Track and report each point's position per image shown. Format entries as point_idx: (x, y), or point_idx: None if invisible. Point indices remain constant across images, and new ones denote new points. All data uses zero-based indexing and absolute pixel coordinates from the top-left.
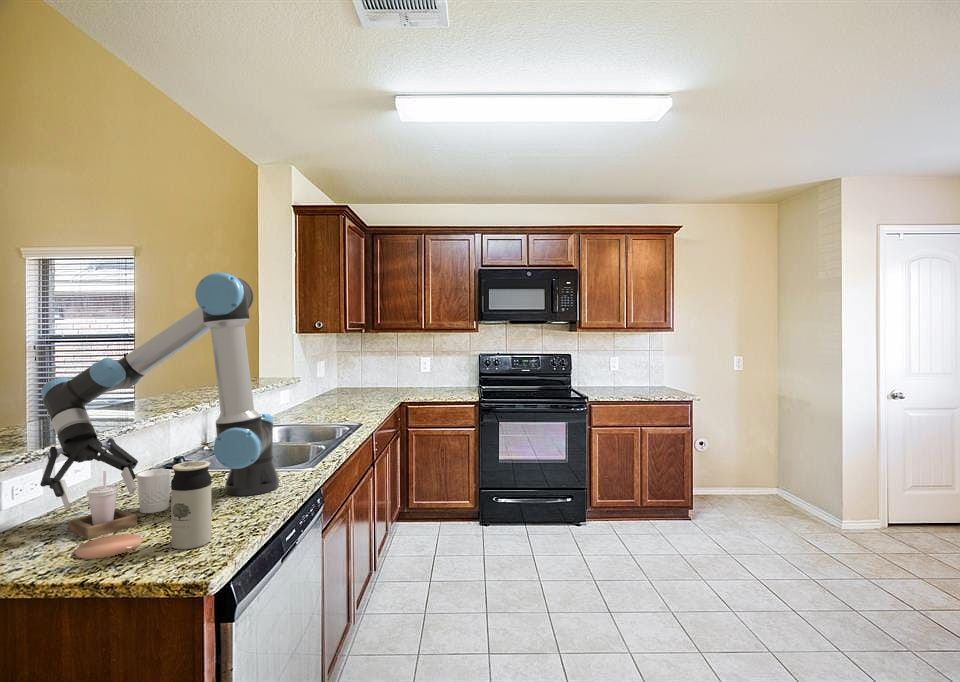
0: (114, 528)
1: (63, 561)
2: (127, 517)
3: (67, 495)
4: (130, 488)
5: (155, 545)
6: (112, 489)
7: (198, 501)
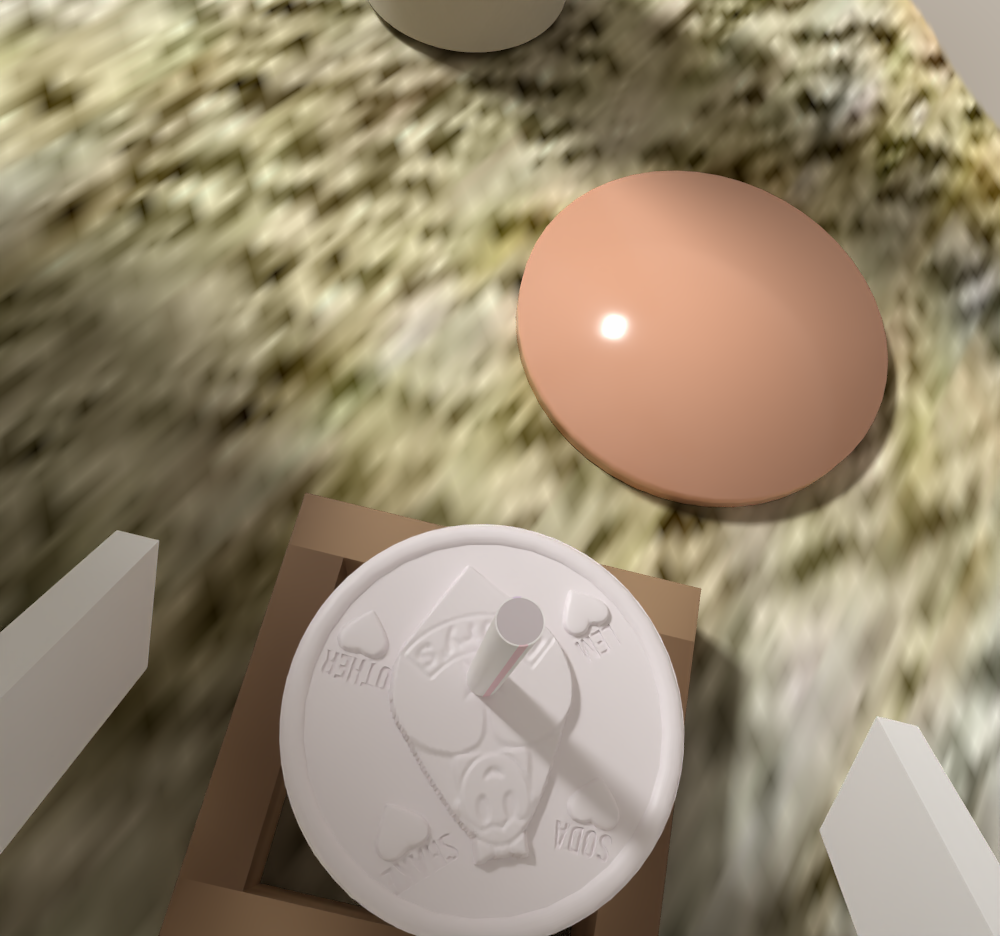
0: None
1: (943, 408)
2: (373, 528)
3: (959, 807)
4: (128, 633)
5: (559, 126)
6: (451, 563)
7: None
